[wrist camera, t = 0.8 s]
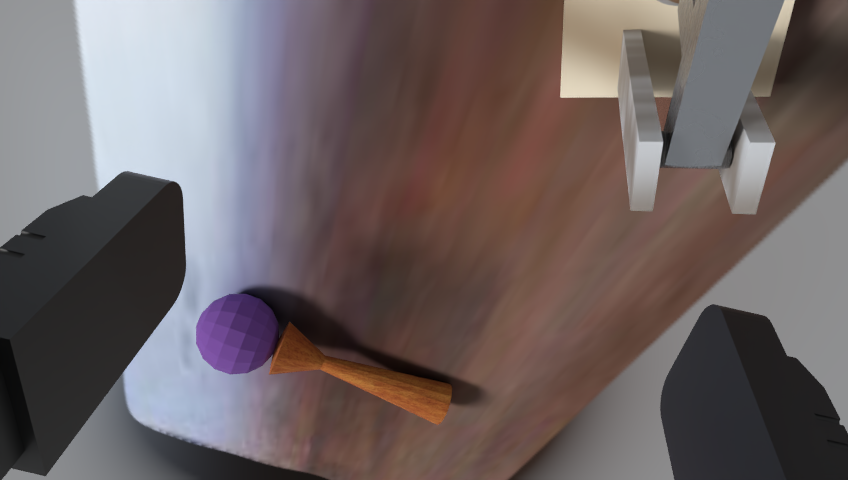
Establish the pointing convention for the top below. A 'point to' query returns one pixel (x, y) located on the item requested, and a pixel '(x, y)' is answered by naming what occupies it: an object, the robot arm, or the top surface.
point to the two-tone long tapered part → (302, 356)
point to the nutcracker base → (660, 89)
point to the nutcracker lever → (714, 78)
